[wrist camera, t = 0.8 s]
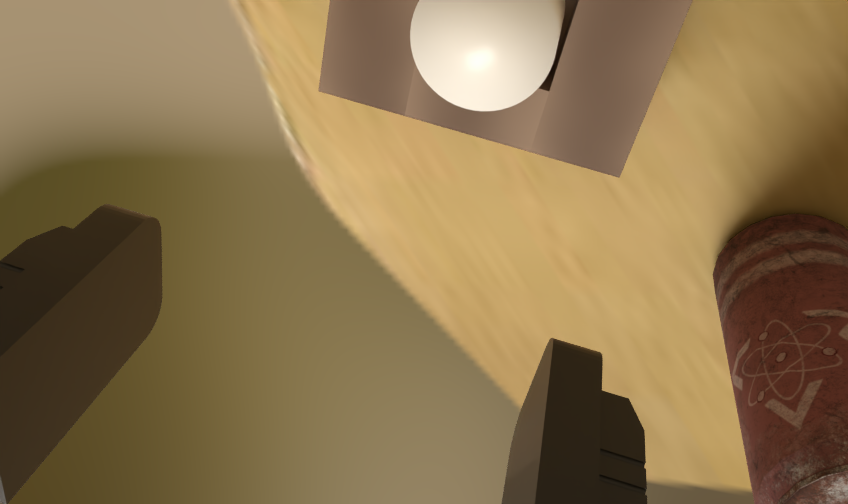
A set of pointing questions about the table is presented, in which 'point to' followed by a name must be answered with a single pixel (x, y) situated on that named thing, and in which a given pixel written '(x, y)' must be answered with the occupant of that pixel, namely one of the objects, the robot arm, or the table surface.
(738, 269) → the can
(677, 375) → the table surface
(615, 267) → the table surface
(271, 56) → the table surface
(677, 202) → the table surface
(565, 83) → the button panel
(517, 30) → the offwhite button
